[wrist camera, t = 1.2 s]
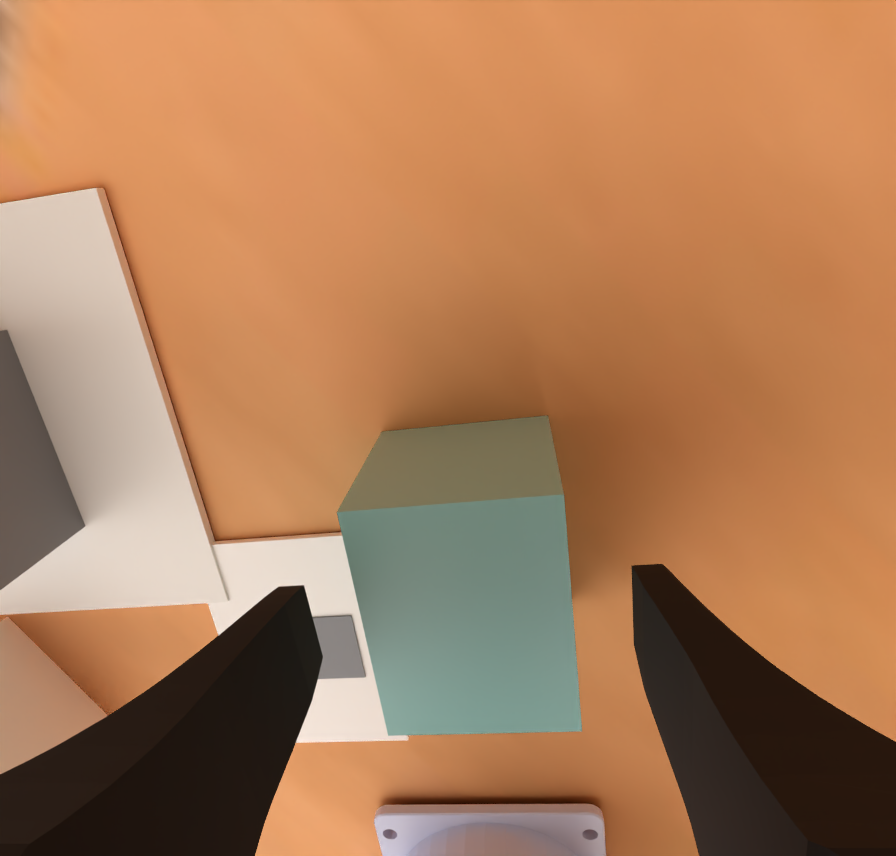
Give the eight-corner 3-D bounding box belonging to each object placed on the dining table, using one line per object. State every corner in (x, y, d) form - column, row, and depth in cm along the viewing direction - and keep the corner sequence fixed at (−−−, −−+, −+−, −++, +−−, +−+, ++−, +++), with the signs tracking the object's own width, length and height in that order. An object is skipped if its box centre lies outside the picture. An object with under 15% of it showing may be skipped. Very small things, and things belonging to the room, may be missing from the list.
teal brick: (563, 601, 17) (582, 731, 13) (416, 609, 18) (387, 735, 14) (547, 414, 15) (564, 494, 11) (382, 430, 16) (336, 512, 12)
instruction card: (409, 735, 20) (408, 741, 19) (256, 738, 20) (253, 744, 20) (366, 530, 17) (364, 535, 17) (192, 542, 18) (187, 547, 17)
